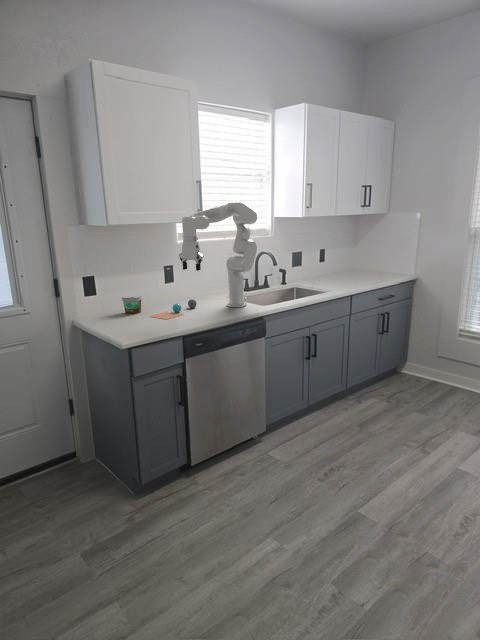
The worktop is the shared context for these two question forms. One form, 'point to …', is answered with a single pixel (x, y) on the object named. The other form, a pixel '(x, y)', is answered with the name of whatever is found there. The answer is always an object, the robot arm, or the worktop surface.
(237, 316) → the worktop surface
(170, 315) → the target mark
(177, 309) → the object ball
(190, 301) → the grey ball
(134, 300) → the food container
